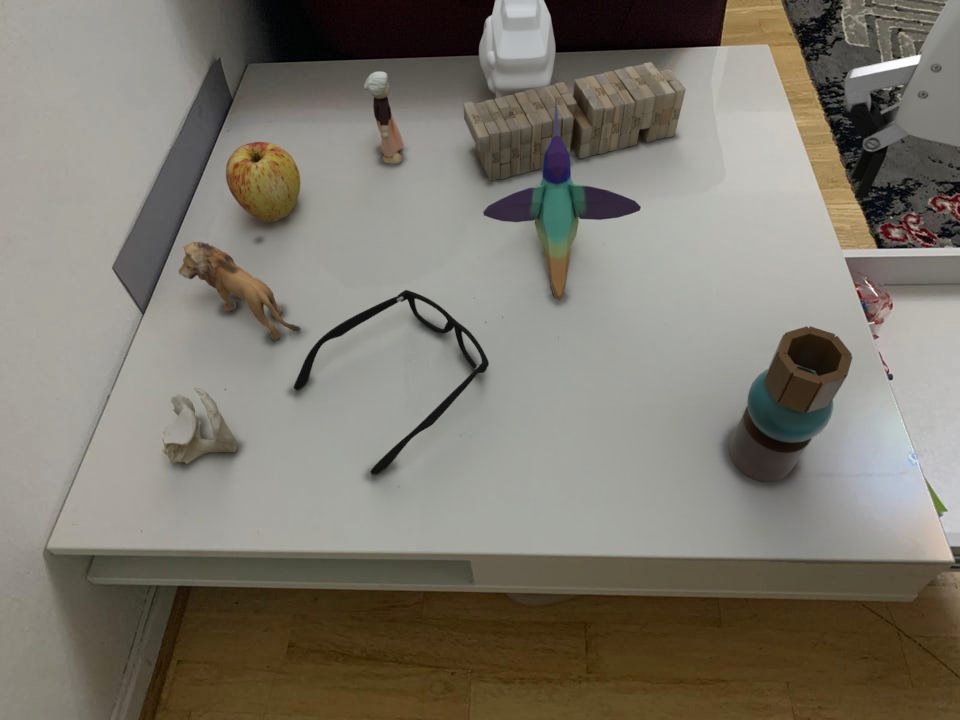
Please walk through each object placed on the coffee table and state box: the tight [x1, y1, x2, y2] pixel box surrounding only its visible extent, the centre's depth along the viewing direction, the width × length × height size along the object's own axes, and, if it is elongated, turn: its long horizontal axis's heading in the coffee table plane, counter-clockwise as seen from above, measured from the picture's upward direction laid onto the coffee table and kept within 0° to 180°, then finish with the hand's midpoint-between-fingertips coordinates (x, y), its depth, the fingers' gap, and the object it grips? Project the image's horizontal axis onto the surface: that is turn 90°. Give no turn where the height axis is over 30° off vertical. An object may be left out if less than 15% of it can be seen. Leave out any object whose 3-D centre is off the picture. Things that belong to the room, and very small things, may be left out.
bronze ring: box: [764, 326, 853, 413], centre depth 62 cm, size 6×6×4 cm
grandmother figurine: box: [363, 71, 404, 165], centre depth 99 cm, size 8×4×13 cm, turn 22°
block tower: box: [463, 61, 687, 181], centre depth 100 cm, size 8×8×29 cm
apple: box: [225, 141, 301, 222], centre depth 94 cm, size 9×9×10 cm
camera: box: [478, 0, 556, 98], centre depth 104 cm, size 11×18×16 cm, turn 0°
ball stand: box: [728, 364, 834, 483], centre depth 68 cm, size 7×7×13 cm
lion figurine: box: [178, 241, 302, 341], centre depth 84 cm, size 15×5×9 cm, turn 62°
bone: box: [162, 386, 238, 465], centre depth 75 cm, size 9×6×10 cm
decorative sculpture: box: [482, 98, 642, 301], centre depth 86 cm, size 17×18×15 cm
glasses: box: [293, 289, 490, 476], centre depth 79 cm, size 17×18×5 cm
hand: (933, 204), depth 52 cm, fingers open, 9 cm apart
